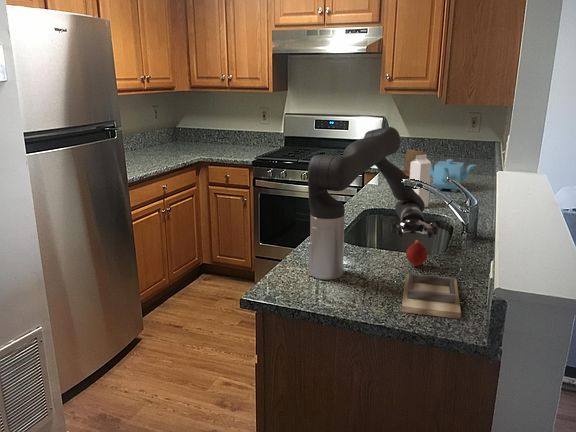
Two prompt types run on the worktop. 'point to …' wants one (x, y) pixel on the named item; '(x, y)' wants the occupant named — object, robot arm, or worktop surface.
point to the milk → (421, 175)
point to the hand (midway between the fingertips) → (415, 234)
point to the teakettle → (449, 174)
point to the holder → (431, 296)
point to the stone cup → (411, 159)
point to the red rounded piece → (416, 253)
